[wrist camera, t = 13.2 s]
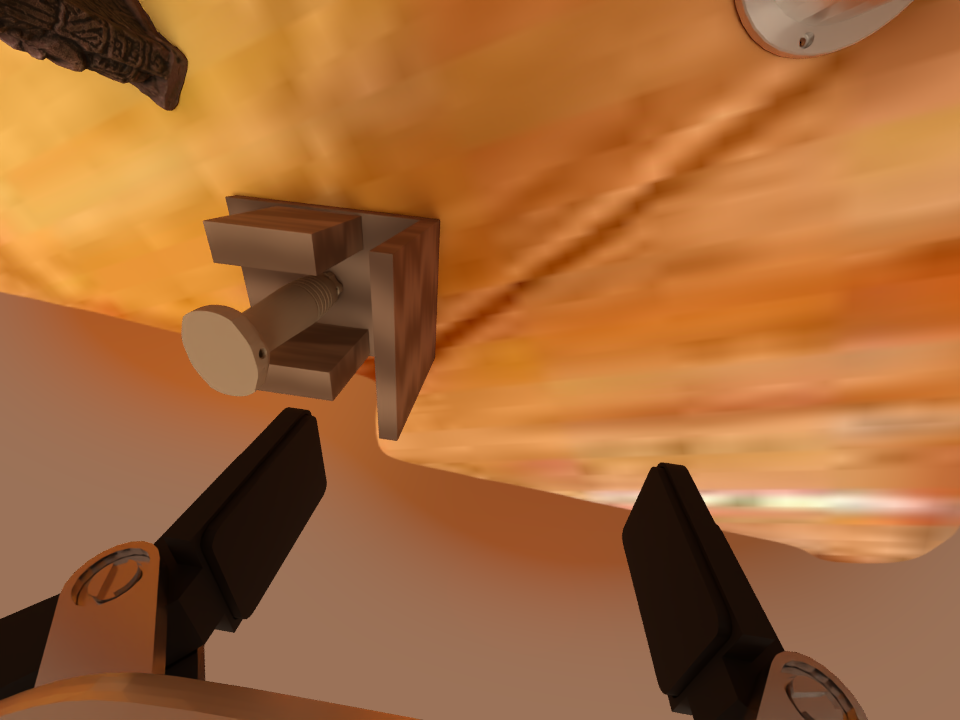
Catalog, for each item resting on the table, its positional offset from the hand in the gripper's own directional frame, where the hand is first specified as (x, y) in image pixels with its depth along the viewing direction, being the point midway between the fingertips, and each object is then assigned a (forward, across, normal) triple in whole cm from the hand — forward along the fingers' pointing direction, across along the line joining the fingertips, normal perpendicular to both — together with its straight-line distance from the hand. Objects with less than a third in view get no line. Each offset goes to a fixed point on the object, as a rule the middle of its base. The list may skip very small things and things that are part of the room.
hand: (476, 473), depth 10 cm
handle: (+27, +18, +5) cm, 33 cm away
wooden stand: (+28, +18, +6) cm, 34 cm away
